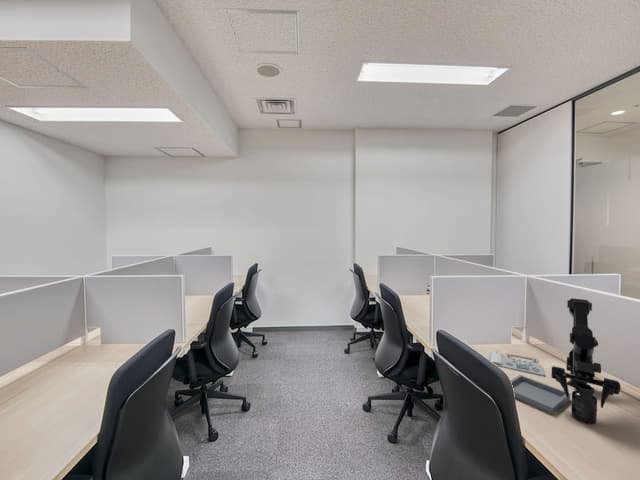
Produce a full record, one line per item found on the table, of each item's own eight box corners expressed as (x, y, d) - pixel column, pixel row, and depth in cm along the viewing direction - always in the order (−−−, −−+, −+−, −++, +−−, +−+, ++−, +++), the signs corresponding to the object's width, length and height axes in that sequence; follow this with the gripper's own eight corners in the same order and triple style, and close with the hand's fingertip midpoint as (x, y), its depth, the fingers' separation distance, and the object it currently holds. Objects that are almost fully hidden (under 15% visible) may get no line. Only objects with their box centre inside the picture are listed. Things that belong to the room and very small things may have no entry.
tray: (520, 380, 131) (520, 374, 131) (570, 399, 116) (570, 393, 116) (500, 392, 121) (500, 386, 121) (552, 415, 106) (552, 408, 106)
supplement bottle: (601, 426, 100) (602, 392, 99) (579, 423, 101) (580, 390, 101) (587, 414, 107) (588, 382, 106) (566, 411, 108) (567, 380, 108)
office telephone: (487, 360, 147) (489, 347, 164) (487, 365, 147) (489, 352, 164) (545, 372, 134) (540, 356, 151) (545, 377, 134) (540, 361, 151)
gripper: (552, 345, 112) (551, 384, 104) (620, 359, 100) (625, 404, 92) (551, 358, 118) (551, 396, 110) (616, 372, 107) (620, 416, 98)
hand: (584, 402), depth 103 cm, fingers open, 9 cm apart
